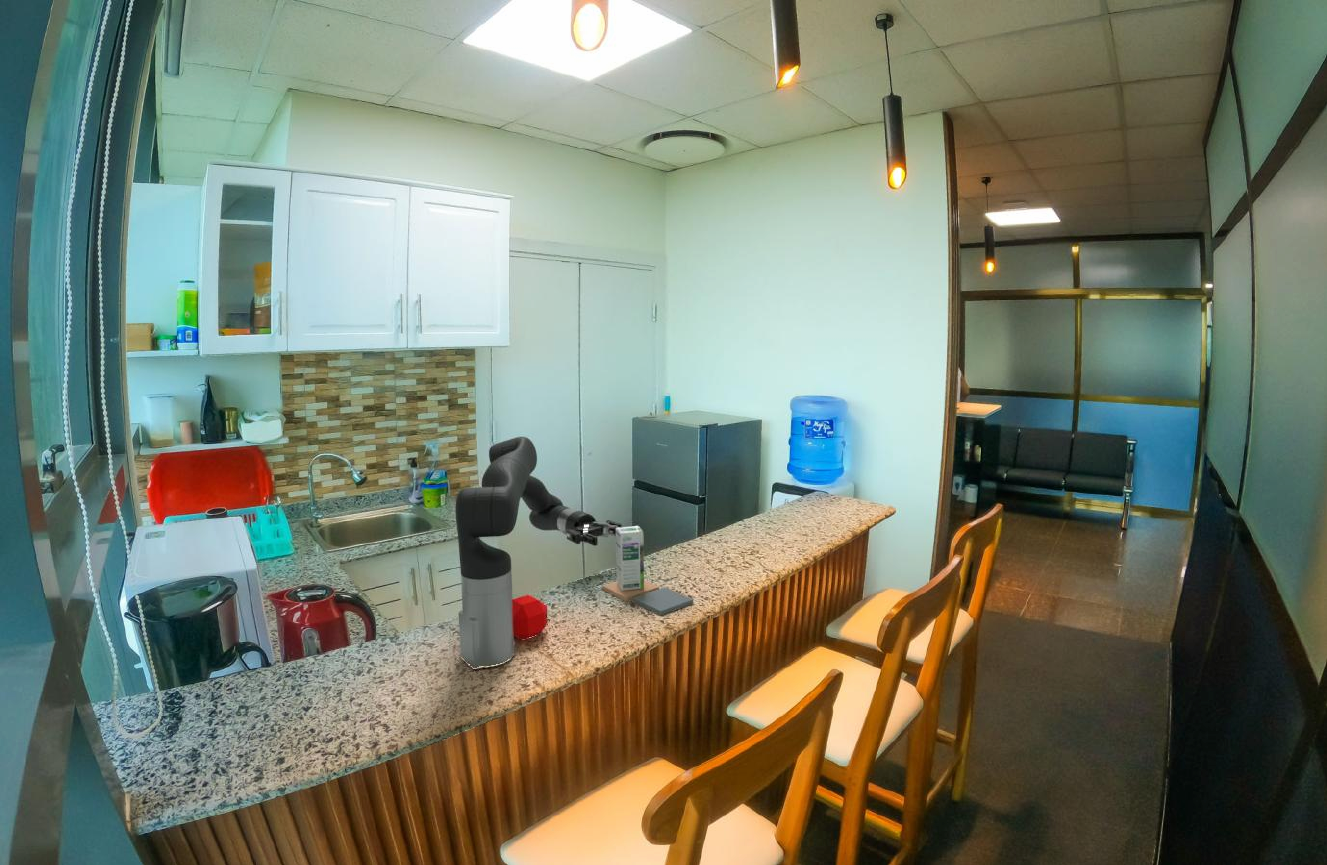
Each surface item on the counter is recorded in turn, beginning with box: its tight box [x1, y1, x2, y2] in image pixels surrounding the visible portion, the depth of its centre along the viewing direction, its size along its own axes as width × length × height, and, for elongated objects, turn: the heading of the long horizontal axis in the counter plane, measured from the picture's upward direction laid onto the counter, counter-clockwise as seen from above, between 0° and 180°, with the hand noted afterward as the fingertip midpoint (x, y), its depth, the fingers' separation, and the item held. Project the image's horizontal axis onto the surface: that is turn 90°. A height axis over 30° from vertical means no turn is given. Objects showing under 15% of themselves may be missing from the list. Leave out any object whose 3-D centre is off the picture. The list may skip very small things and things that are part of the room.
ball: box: [512, 594, 549, 640], centre depth 129 cm, size 8×8×8 cm
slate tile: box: [632, 586, 694, 616], centre depth 145 cm, size 10×10×1 cm
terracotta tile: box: [601, 580, 660, 603], centre depth 153 cm, size 10×10×1 cm
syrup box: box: [615, 525, 645, 591], centre depth 152 cm, size 6×6×14 cm
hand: (610, 538), depth 159 cm, fingers open, 8 cm apart
